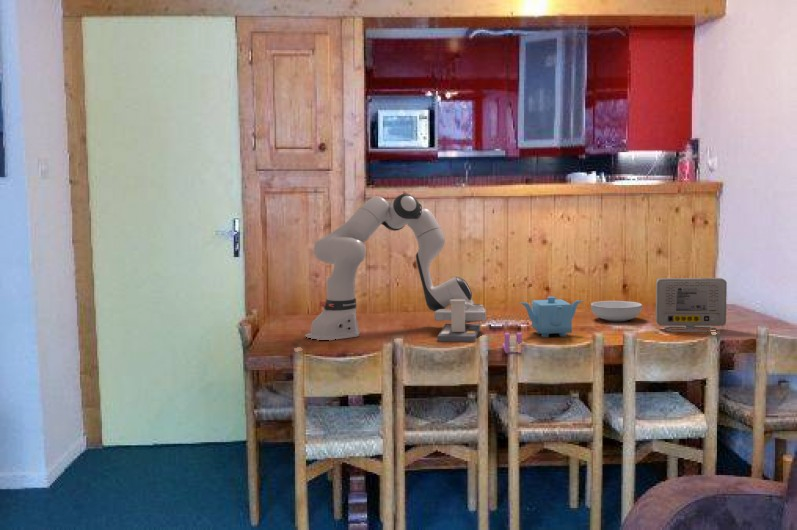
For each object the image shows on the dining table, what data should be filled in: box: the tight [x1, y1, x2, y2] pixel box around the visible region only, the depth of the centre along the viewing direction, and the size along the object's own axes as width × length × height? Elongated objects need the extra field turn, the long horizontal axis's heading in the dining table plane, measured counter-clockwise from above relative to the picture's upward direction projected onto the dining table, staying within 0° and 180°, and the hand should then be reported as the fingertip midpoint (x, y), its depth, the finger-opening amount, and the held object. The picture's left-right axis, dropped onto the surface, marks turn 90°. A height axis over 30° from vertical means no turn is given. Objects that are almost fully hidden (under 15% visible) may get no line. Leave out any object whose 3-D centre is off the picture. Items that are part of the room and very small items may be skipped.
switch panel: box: [437, 323, 481, 343], centre depth 323 cm, size 26×14×2 cm, turn 170°
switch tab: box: [450, 299, 466, 332], centre depth 317 cm, size 3×6×12 cm, turn 80°
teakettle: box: [520, 296, 584, 338], centre depth 317 cm, size 19×19×15 cm
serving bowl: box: [590, 300, 643, 323], centre depth 347 cm, size 21×21×7 cm
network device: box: [655, 277, 728, 333], centre depth 320 cm, size 26×9×20 cm, turn 80°
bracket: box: [502, 332, 523, 354], centre depth 293 cm, size 13×6×7 cm, turn 179°
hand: (458, 318), depth 318 cm, fingers closed, pressing on switch tab
